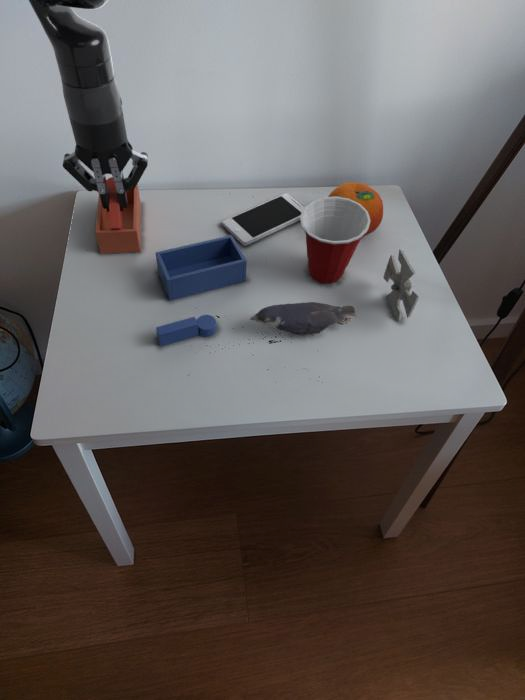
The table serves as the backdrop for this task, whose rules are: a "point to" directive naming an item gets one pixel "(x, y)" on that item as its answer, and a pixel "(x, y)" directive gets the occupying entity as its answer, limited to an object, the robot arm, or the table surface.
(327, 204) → the plastic cup
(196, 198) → the table surface
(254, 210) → the smartphone
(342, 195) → the fruit
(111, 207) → the red spoon
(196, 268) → the blue bin
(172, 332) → the blue spoon
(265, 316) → the bird model
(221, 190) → the table surface
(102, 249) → the orange bin
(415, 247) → the table surface
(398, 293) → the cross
